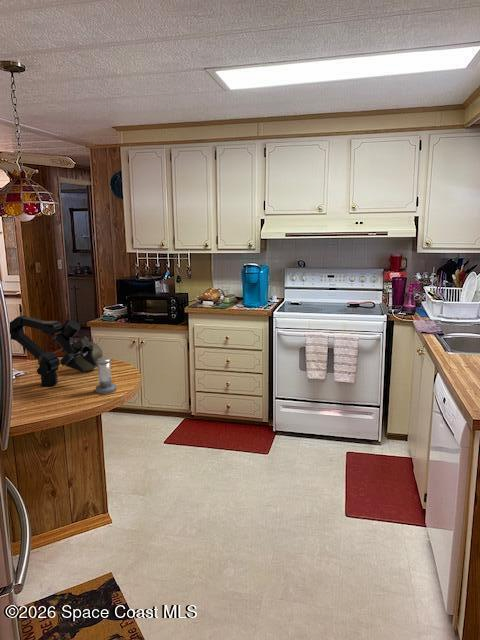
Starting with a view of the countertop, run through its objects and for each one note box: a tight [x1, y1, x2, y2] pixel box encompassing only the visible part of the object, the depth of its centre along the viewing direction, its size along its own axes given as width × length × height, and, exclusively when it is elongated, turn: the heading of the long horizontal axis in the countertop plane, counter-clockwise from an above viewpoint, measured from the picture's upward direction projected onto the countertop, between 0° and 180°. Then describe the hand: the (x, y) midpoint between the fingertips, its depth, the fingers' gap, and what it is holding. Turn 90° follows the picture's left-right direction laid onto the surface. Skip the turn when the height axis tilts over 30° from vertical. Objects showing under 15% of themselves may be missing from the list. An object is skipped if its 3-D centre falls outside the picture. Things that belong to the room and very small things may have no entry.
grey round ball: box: [76, 341, 104, 372], centre depth 244 cm, size 14×14×15 cm
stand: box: [95, 383, 117, 395], centre depth 215 cm, size 9×9×2 cm
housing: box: [96, 356, 113, 389], centre depth 213 cm, size 6×6×13 cm
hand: (89, 368), depth 215 cm, fingers open, 9 cm apart
